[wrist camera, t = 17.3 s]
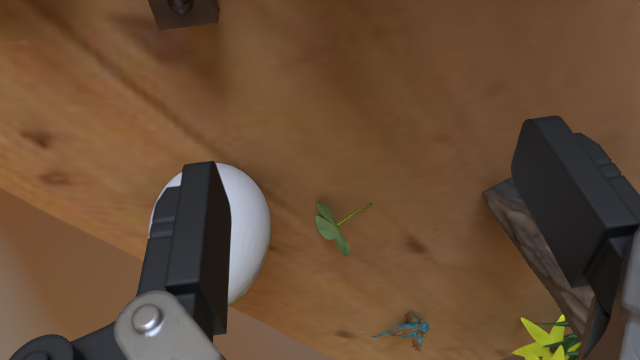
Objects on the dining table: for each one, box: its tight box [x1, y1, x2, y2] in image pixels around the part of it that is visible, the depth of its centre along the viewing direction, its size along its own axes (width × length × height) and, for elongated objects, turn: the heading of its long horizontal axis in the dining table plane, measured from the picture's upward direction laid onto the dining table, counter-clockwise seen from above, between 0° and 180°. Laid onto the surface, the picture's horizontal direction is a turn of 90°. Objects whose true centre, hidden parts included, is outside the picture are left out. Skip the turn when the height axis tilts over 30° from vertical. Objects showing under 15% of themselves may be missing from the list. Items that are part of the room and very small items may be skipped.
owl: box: [482, 178, 595, 341], centre depth 51 cm, size 13×13×20 cm
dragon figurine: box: [372, 312, 429, 352], centre depth 79 cm, size 6×7×8 cm
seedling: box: [315, 202, 372, 256], centre depth 56 cm, size 7×8×7 cm
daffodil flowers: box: [512, 314, 581, 360], centre depth 75 cm, size 17×15×35 cm
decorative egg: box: [149, 163, 271, 307], centre depth 47 cm, size 12×12×15 cm
